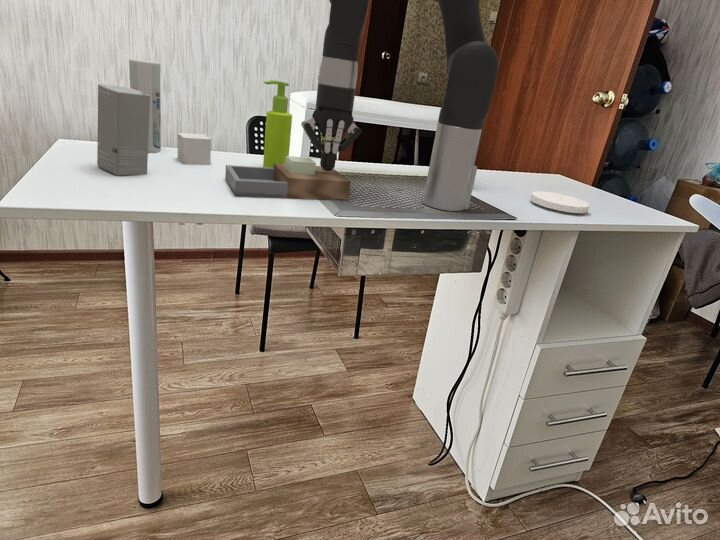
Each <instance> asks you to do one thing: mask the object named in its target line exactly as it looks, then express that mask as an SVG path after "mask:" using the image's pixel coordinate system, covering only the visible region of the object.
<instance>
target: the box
mask: <svg viewBox="0 0 720 540" xmlns="http://www.w3.org/2000/svg"><path fill="white" fill-rule="evenodd" d="M224 177H225V181H226V183H227V185H228V187H229V189H230V190H231V192H232V193H233V196H234V197H240V198H241V197H244V198H246V197H247V198H269V199H270V198H272V199H273V198H275V199H288V198H287V190H288V183H287V182H278V181H274V168H267V167H263V166H250V165H249V166H248V165H247V166H246V165H232V164H231V165H230V164H229V165H228V164H225V176H224Z"/></svg>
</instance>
